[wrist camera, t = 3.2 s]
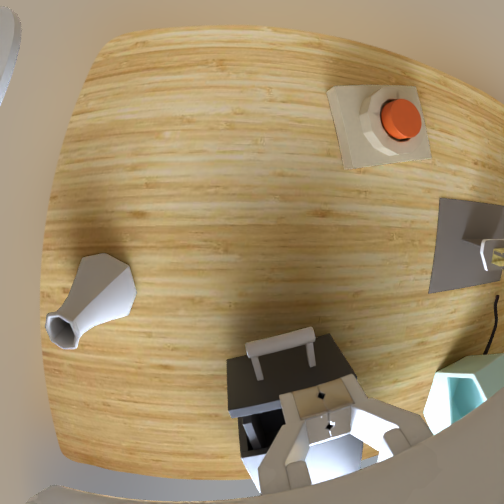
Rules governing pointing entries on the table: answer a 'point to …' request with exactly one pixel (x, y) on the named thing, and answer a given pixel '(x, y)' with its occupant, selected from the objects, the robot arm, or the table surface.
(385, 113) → the button
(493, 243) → the platform
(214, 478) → the table surface
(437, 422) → the planter
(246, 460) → the single drawer cabinet
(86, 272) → the flask
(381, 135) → the block
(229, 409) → the cabinet drawer
